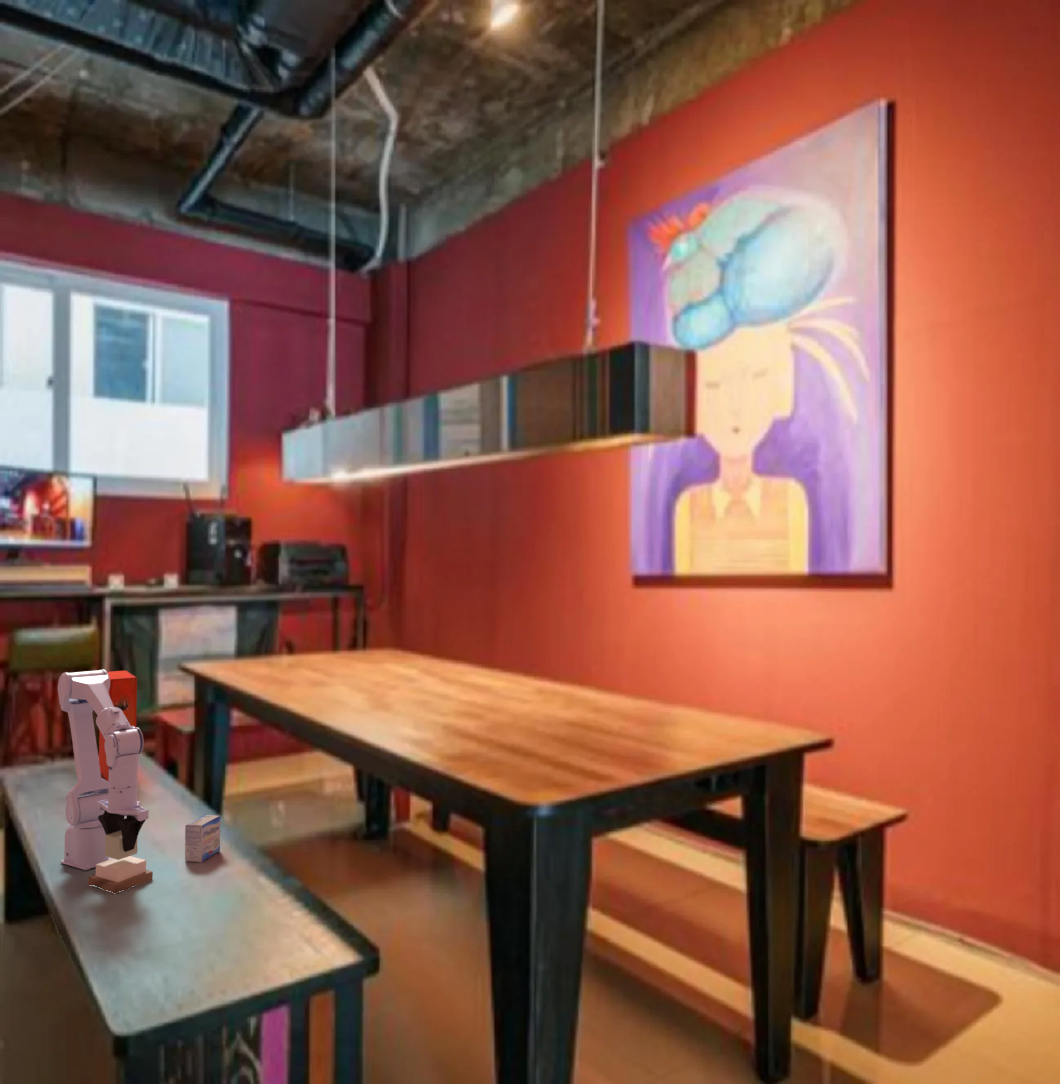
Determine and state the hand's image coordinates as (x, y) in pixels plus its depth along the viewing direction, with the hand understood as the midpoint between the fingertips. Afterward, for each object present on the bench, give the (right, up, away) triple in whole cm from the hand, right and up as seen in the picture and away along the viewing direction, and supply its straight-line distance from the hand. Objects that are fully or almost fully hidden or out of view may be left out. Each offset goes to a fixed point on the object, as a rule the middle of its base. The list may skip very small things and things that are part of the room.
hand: (121, 848), depth 182 cm
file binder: (-43, -8, +84) cm, 95 cm away
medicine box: (+11, -8, +16) cm, 21 cm away
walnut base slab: (0, -8, 0) cm, 8 cm away
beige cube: (0, -1, 0) cm, 1 cm away
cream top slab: (0, -6, 0) cm, 6 cm away
